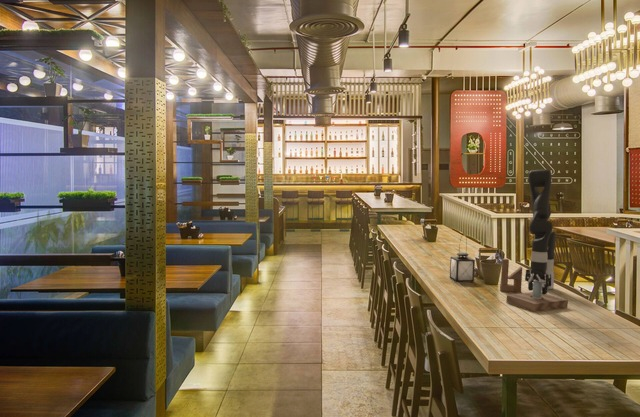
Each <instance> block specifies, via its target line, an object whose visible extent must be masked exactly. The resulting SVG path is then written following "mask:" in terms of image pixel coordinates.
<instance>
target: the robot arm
mask: <svg viewBox="0 0 640 417" xmlns="http://www.w3.org/2000/svg"><path fill="white" fill-rule="evenodd" d="M552 180H553V179H552V172H551V169H547V168H546V169H545V168H544V169H532V170H530V171H528V184H529V191H530V196H531V207H532V208H531V209H532V218H531V221H530V223H529V226H528V227H529V229H528V230H529V232H530V233H531V234H532V235H534V239H533V240H532V242H531V243H532V245H531V255H530V267H529V269H526V270H525V275H524V276H525V278H524V281H525V282H527V285H528V287H527V289H528V291H530V292H532V291H533V281H540V283H541V284H542V294H543V295H544V294H548V290H552V289H554V288H555V286H554V285H555V272H554V266H555V265H554V261H555V250H556V242H557V235H556V232H555V231H554V230H553V228H554V225H553V223H552V222H551V221H549V219H550V217H551V215H552V212H551V203H550V195H551V188H552ZM538 188H543V189H542V191H541V192H540V190H539V189H538Z"/></svg>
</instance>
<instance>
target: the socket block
mask: <svg viewBox="0 0 640 417" xmlns="http://www.w3.org/2000/svg"><path fill="white" fill-rule="evenodd" d="M532 296H533V291H530V292H529V291H528V292H522V293H521V292H519V293H512V294H511V293H510V294H506V304H510V305H513V306H516V307H517V308H520V309H524V310H526V311H529V312H530V311H531V312H532V313H538V312H545V311H553V310H554V311H555V310H561V309H568V306H569V299H565V298H563V297H560V296H555V295H552V294H548V293H546V294H544V295H543V294H542V293H541V299H535V298H532Z"/></svg>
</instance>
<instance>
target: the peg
mask: <svg viewBox="0 0 640 417" xmlns="http://www.w3.org/2000/svg"><path fill="white" fill-rule="evenodd" d="M532 292H533V296H532V298H535V299H541V293H542V284H541V283H540V281H535V280H534V281H533V290H532Z"/></svg>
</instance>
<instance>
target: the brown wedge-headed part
mask: <svg viewBox="0 0 640 417" xmlns="http://www.w3.org/2000/svg"><path fill="white" fill-rule="evenodd" d="M509 263H510V260H509V259H508V258H502V259H501V272H500V273H501V276H500V283H499V291H500V292H505V293H506V292H507V293H509V292H510V293H521V292H522V282H523V281H522V279H523V267H522V266H519V267H518V268H517V269H515V270H514V271H513V272H512V273H511V274H510V275H509ZM509 280H513V284H510V283H509V284H508V281H509Z"/></svg>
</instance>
